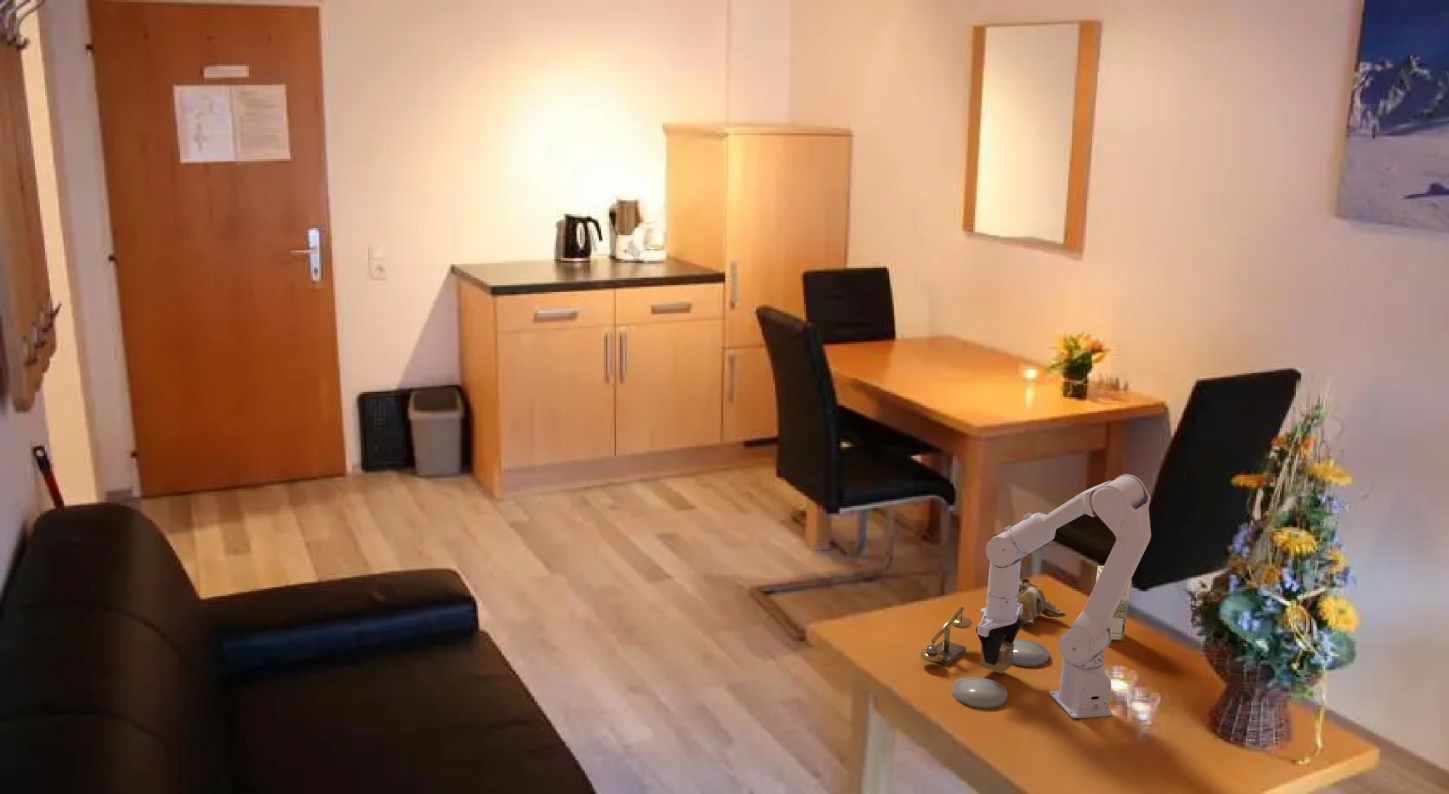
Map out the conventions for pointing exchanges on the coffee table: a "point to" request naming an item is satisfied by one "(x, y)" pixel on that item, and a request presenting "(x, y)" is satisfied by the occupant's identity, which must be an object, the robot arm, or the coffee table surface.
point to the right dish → (1029, 653)
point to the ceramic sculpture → (1034, 603)
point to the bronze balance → (947, 642)
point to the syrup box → (1118, 613)
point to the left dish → (979, 692)
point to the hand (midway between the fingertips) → (996, 658)
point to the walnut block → (1000, 658)
